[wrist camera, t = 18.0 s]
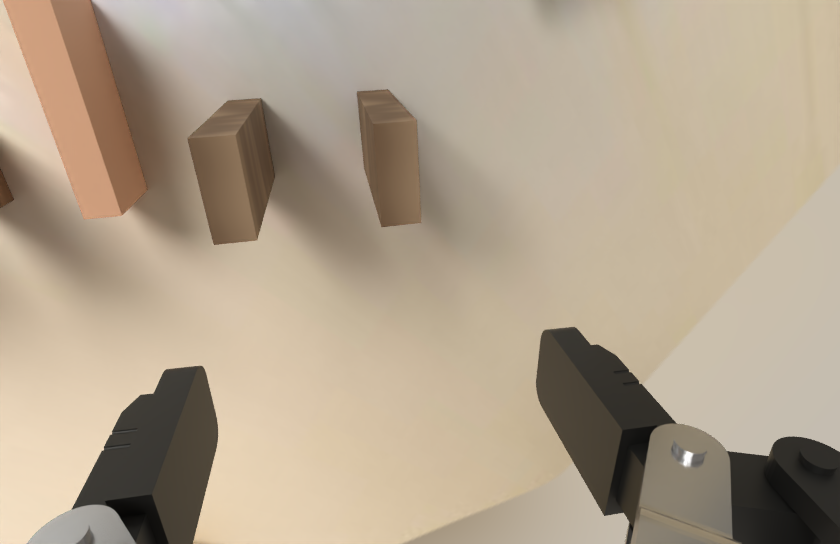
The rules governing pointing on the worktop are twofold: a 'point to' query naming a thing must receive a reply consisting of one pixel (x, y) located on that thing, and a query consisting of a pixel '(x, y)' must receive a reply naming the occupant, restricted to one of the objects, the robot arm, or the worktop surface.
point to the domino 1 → (80, 102)
